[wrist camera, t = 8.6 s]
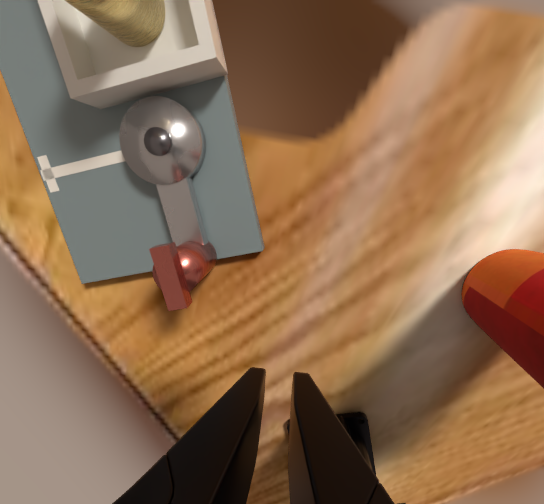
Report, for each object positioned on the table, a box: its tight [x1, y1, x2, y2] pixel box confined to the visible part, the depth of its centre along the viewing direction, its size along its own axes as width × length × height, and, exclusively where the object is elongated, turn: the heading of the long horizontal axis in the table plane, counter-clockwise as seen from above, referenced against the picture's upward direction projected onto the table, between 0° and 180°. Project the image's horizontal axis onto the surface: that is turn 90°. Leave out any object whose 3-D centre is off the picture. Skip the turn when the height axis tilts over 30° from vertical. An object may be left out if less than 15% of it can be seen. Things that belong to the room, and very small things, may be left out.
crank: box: [119, 96, 217, 311], centre depth 17 cm, size 12×5×5 cm, turn 12°
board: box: [0, 0, 264, 284], centre depth 19 cm, size 20×14×1 cm
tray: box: [38, 0, 228, 109], centre depth 15 cm, size 8×8×2 cm
